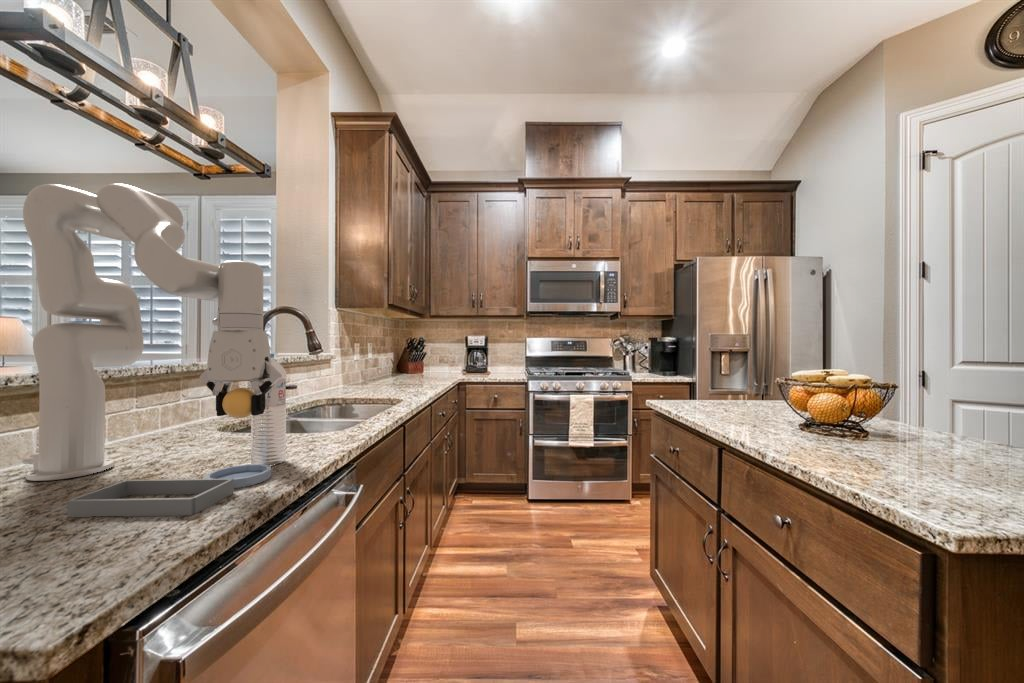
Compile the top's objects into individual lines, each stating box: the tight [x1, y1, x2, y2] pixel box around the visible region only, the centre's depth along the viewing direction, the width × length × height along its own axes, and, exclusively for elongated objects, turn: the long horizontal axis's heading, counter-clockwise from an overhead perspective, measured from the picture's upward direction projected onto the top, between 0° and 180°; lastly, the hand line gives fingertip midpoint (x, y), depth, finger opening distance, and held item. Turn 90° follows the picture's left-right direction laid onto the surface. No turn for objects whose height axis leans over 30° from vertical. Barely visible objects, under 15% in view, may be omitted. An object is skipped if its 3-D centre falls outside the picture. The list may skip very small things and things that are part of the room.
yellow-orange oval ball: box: [222, 387, 255, 419], centre depth 80 cm, size 6×6×6 cm
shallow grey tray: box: [66, 478, 234, 518], centre depth 68 cm, size 19×10×2 cm, turn 92°
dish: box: [204, 463, 272, 490], centre depth 80 cm, size 11×11×2 cm
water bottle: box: [250, 353, 287, 466], centre depth 92 cm, size 7×7×25 cm
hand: (240, 414), depth 80 cm, fingers closed on yellow-orange oval ball, 5 cm apart
